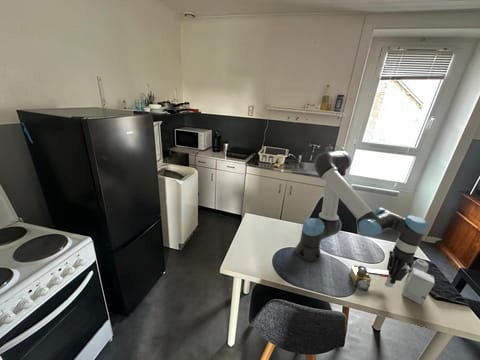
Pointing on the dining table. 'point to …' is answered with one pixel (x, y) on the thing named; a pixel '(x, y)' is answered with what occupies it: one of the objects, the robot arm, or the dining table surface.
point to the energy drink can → (419, 266)
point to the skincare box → (418, 286)
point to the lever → (372, 271)
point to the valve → (360, 279)
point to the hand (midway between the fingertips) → (388, 285)
